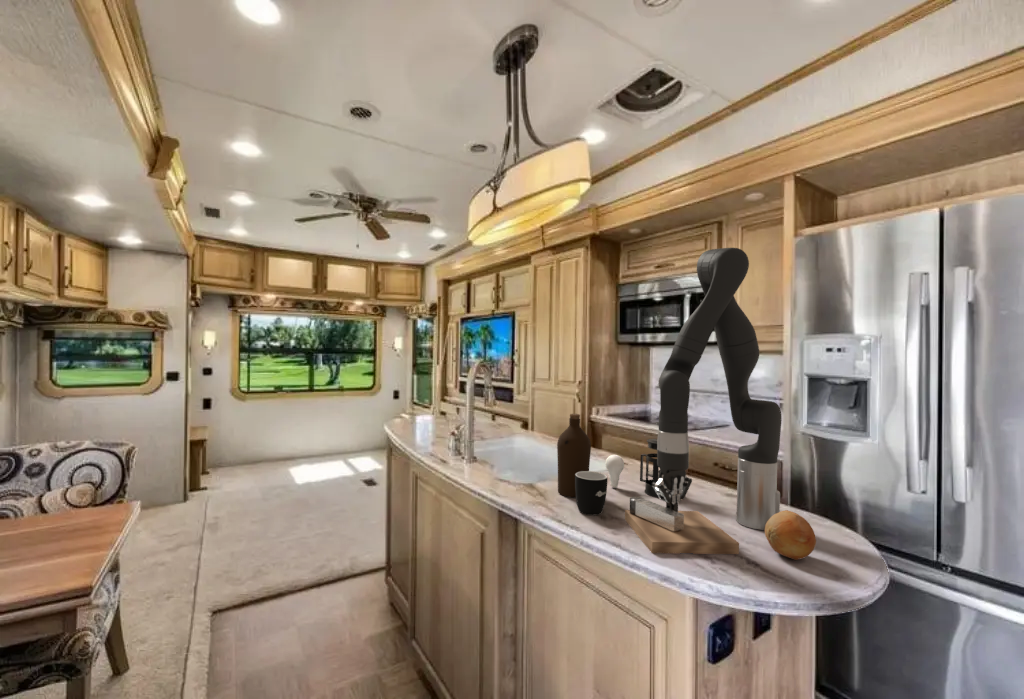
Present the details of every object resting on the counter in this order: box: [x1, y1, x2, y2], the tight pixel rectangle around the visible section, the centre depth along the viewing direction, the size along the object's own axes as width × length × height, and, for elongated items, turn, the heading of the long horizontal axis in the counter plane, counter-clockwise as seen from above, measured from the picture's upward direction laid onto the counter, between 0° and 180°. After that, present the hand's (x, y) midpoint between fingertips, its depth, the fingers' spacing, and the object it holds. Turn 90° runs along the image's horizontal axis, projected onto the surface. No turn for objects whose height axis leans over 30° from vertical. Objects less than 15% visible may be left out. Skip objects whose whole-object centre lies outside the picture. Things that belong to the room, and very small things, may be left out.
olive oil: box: [556, 413, 592, 498], centre depth 140 cm, size 11×11×25 cm
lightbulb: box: [605, 454, 625, 489], centre depth 147 cm, size 6×6×11 cm
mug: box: [575, 470, 609, 516], centre depth 125 cm, size 12×9×10 cm
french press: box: [639, 421, 660, 499], centre depth 143 cm, size 12×9×23 cm
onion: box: [764, 509, 817, 561], centre depth 99 cm, size 10×10×10 cm
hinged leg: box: [628, 496, 684, 531], centre depth 112 cm, size 15×4×4 cm, turn 31°
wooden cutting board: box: [624, 509, 740, 555], centre depth 109 cm, size 20×20×2 cm
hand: (672, 517), depth 112 cm, fingers closed
